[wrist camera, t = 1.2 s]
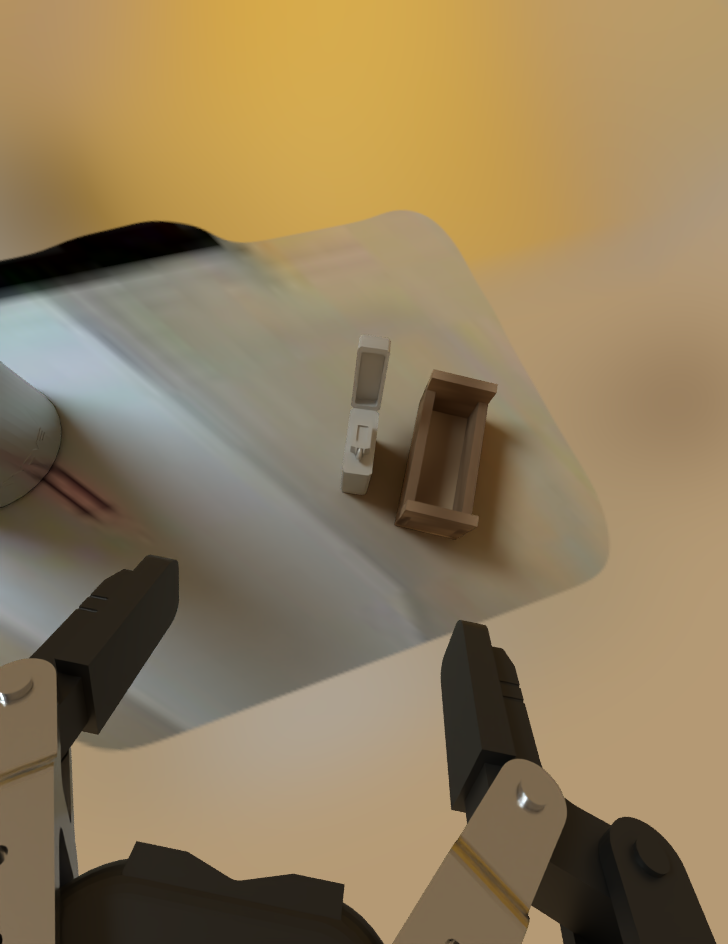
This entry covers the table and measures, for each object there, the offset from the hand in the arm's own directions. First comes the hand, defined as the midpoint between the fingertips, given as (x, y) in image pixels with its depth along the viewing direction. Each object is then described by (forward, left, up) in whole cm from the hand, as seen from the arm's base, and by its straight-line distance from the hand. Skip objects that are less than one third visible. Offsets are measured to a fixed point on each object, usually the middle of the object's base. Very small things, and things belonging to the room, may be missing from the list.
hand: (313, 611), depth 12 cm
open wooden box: (+3, +12, -15) cm, 19 cm away
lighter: (-2, +11, -15) cm, 19 cm away
